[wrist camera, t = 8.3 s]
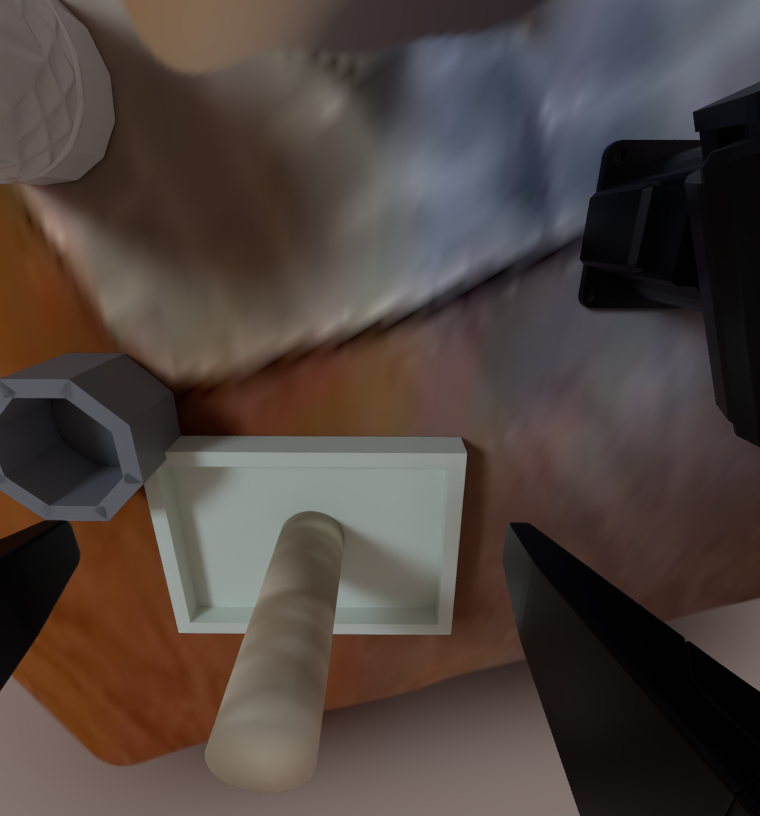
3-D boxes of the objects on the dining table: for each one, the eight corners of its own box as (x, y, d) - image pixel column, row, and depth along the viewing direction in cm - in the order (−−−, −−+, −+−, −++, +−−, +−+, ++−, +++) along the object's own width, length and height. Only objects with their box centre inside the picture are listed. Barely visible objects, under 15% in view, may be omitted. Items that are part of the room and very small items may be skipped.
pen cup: (165, 353, 21) (118, 379, 17) (188, 475, 23) (152, 521, 20) (25, 353, 21) (-53, 378, 17) (63, 474, 23) (3, 520, 20)
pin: (343, 511, 23) (313, 725, 13) (345, 563, 25) (319, 794, 15) (277, 510, 23) (196, 724, 13) (283, 562, 25) (213, 792, 15)
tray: (460, 437, 22) (467, 453, 21) (446, 609, 27) (450, 634, 25) (154, 435, 22) (135, 451, 21) (191, 608, 27) (178, 633, 25)
